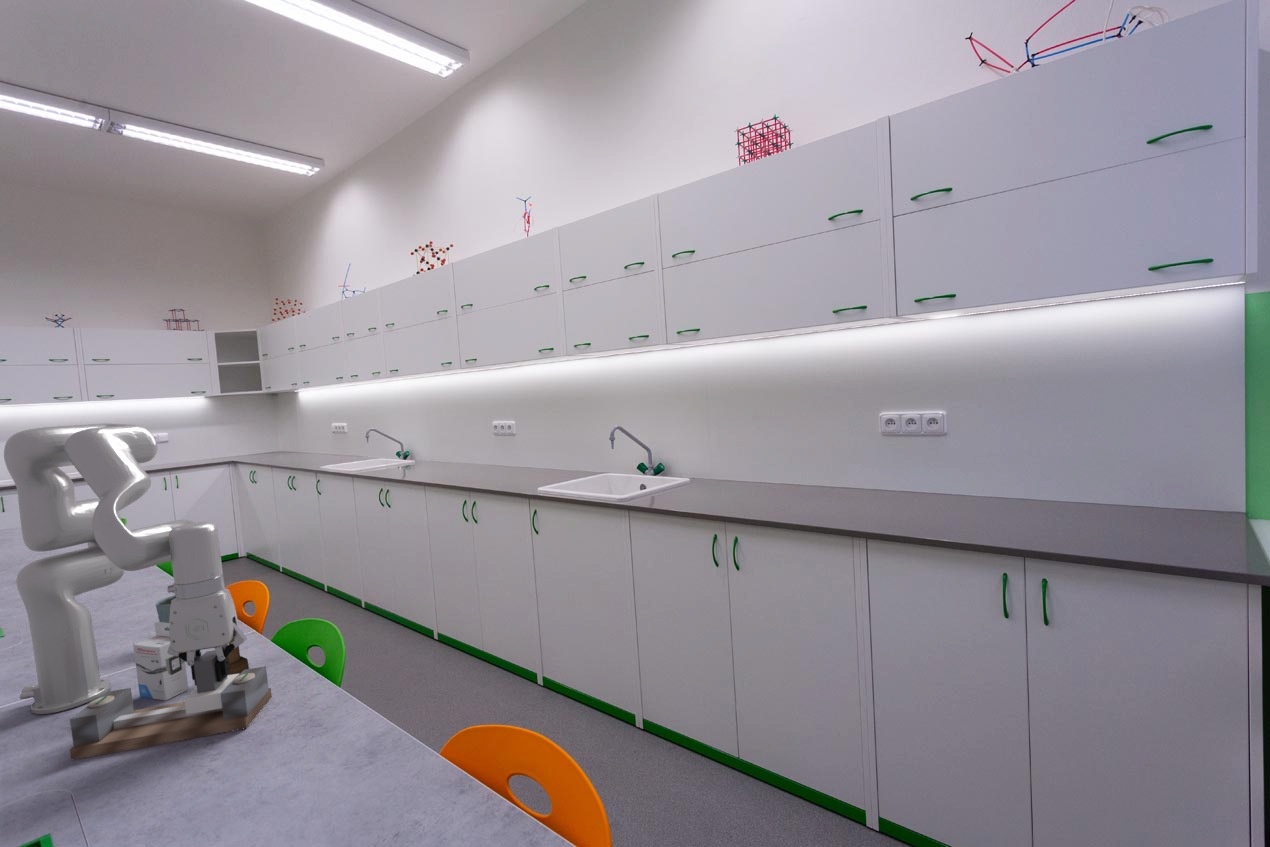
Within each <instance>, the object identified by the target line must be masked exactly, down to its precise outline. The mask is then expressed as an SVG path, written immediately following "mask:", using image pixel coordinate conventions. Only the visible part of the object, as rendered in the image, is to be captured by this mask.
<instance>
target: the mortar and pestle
mask: <svg viewBox="0 0 1270 847" xmlns="http://www.w3.org/2000/svg"><path fill="white" fill-rule="evenodd" d="M233 641H234V638H232V640H231V641H230V642H229V644H230V643H231V642H233ZM240 652H241V651H240V645H239V646H238V647H236V648H235V649H234V650H233V651H232V652H231V653H230V654H229V655H228V659H229V667H230V672H229V674H228V675H233V674H239V675H240V674H241V672H242V671H243V670H246V669H250V667H249V660H248V658H247V657H244V656H242V655H241V653H240Z"/></svg>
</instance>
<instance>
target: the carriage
mask: <svg viewBox="0 0 1270 847" xmlns="http://www.w3.org/2000/svg"><path fill="white" fill-rule="evenodd" d="M216 661H217V656H216V652H215V649H214V650H209V651H208V650H207V651H206V652H204V653H203V654H201V657H200V658H198V659H197V660H196V661H195V662H194V671H195V678H196V687H195V688H194V689H193V690H192V691H191V692H190V693H189V694H188V695H186V697H185V698H184V699H183V700H184V701H183V702H185V709H186V714H192V713H198V712H204V711H209V710H215V709H221V708H222V701H221V693H222V692H223V691H224V690H225V689H226V688H227V687H228V686H229V685H230V684H231V683H232V682H233V680H234V679H235V678H236V677H238V676H239V674H233V675H228V676H227V677H226V678H225V679H224V680H223V681H222V682H218V681H217V677H216V669H215V662H216Z"/></svg>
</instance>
